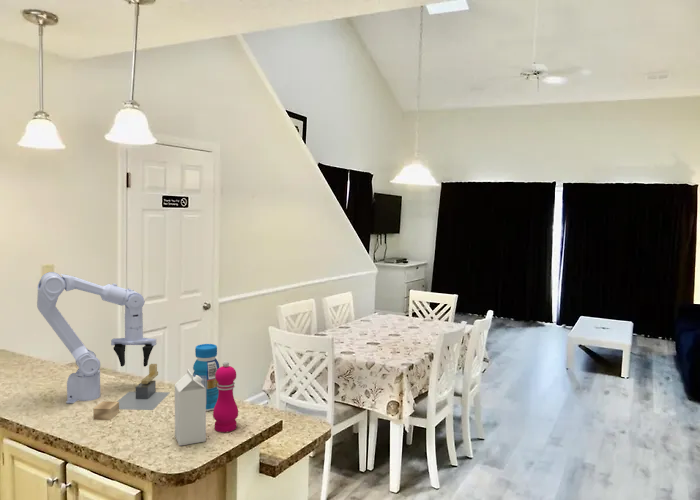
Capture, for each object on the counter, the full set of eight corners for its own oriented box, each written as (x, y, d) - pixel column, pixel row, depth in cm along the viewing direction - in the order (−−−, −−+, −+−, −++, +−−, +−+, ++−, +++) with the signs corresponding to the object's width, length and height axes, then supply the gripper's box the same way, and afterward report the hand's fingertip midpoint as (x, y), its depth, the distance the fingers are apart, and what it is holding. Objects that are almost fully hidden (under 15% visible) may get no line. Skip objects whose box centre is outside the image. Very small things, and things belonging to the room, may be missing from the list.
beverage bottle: (190, 412, 170) (190, 349, 169) (195, 402, 179) (195, 342, 177) (217, 411, 171) (217, 349, 169) (221, 402, 179) (221, 342, 178)
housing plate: (108, 412, 169) (107, 396, 169) (129, 394, 185) (129, 379, 184) (152, 413, 169) (152, 397, 168) (170, 395, 185) (170, 380, 184)
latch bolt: (141, 384, 180) (141, 371, 179) (152, 374, 190) (152, 362, 189) (147, 384, 180) (147, 371, 179) (158, 374, 190) (158, 363, 189)
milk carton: (179, 446, 146) (179, 377, 145) (174, 436, 152) (174, 370, 151) (206, 441, 149) (206, 374, 148) (200, 432, 156) (200, 367, 154)
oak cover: (93, 421, 161) (93, 408, 160) (102, 414, 166) (102, 401, 166) (110, 422, 160) (110, 409, 160) (119, 414, 166) (119, 401, 166)
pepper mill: (225, 435, 154) (225, 366, 152) (207, 429, 158) (207, 361, 156) (243, 426, 160) (243, 360, 158) (225, 421, 164) (225, 356, 162)
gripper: (107, 329, 181) (108, 369, 182) (151, 329, 181) (152, 369, 183) (115, 324, 188) (115, 362, 189) (158, 324, 189) (158, 363, 190)
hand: (134, 365), depth 186 cm, fingers open, 7 cm apart
